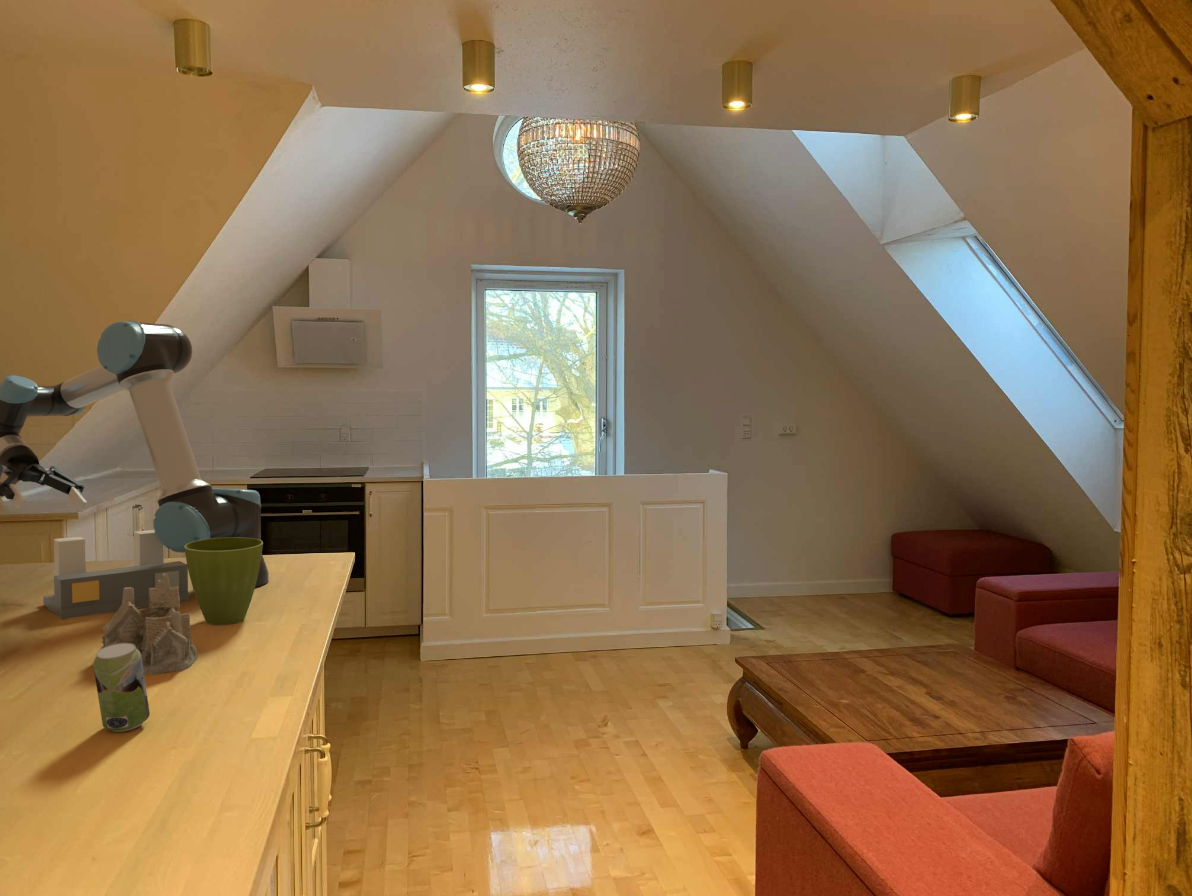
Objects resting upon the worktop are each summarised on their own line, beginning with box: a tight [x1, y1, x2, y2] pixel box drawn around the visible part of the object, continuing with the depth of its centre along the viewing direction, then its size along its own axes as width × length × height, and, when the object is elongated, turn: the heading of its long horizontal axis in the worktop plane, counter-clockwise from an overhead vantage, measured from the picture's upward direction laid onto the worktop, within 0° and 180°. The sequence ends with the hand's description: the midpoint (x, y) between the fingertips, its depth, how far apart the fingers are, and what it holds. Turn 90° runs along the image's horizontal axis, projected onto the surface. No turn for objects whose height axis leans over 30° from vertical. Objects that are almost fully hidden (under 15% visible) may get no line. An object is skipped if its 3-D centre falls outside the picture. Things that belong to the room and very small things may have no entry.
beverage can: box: [92, 643, 151, 733], centre depth 128 cm, size 6×7×12 cm
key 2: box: [133, 529, 164, 567], centre depth 205 cm, size 4×5×12 cm
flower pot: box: [184, 537, 264, 626], centre depth 184 cm, size 15×15×16 cm
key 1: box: [53, 536, 87, 576], centre depth 194 cm, size 4×5×12 cm
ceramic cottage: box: [99, 573, 199, 675], centre depth 157 cm, size 16×16×15 cm
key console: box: [42, 560, 190, 620], centre depth 197 cm, size 15×25×8 cm, turn 134°
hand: (53, 506), depth 203 cm, fingers open, 13 cm apart
